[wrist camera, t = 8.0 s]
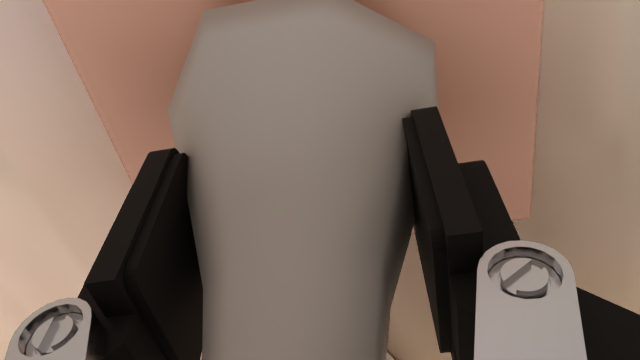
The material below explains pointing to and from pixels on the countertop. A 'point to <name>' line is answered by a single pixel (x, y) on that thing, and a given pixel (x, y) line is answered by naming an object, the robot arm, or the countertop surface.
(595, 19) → the countertop surface
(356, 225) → the flask
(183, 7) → the plate
